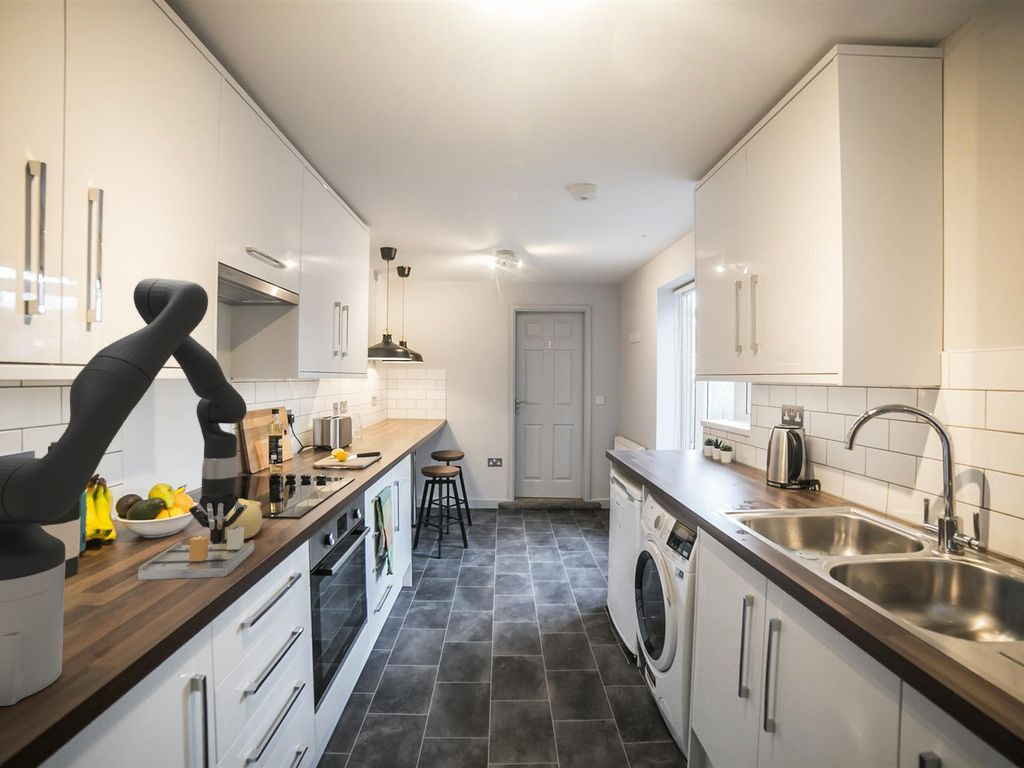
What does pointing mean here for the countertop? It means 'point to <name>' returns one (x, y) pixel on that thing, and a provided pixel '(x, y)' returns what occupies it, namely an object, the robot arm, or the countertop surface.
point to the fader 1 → (198, 548)
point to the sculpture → (247, 518)
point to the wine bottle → (67, 534)
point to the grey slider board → (194, 562)
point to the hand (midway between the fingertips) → (217, 543)
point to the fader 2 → (235, 537)
